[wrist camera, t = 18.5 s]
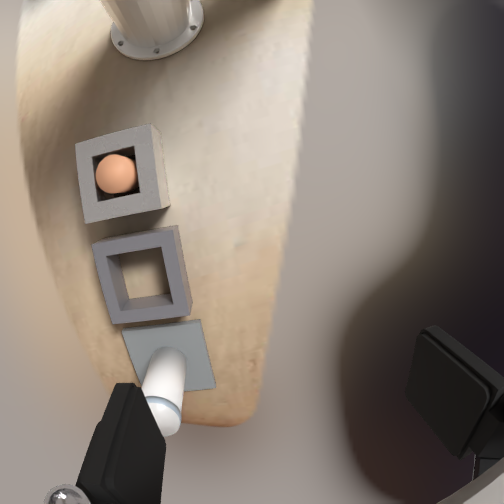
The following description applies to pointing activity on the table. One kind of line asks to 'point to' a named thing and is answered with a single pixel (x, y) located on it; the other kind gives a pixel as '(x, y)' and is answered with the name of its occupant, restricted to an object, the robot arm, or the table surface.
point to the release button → (117, 174)
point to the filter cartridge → (166, 388)
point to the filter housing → (115, 285)
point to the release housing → (148, 168)
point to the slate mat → (176, 336)
